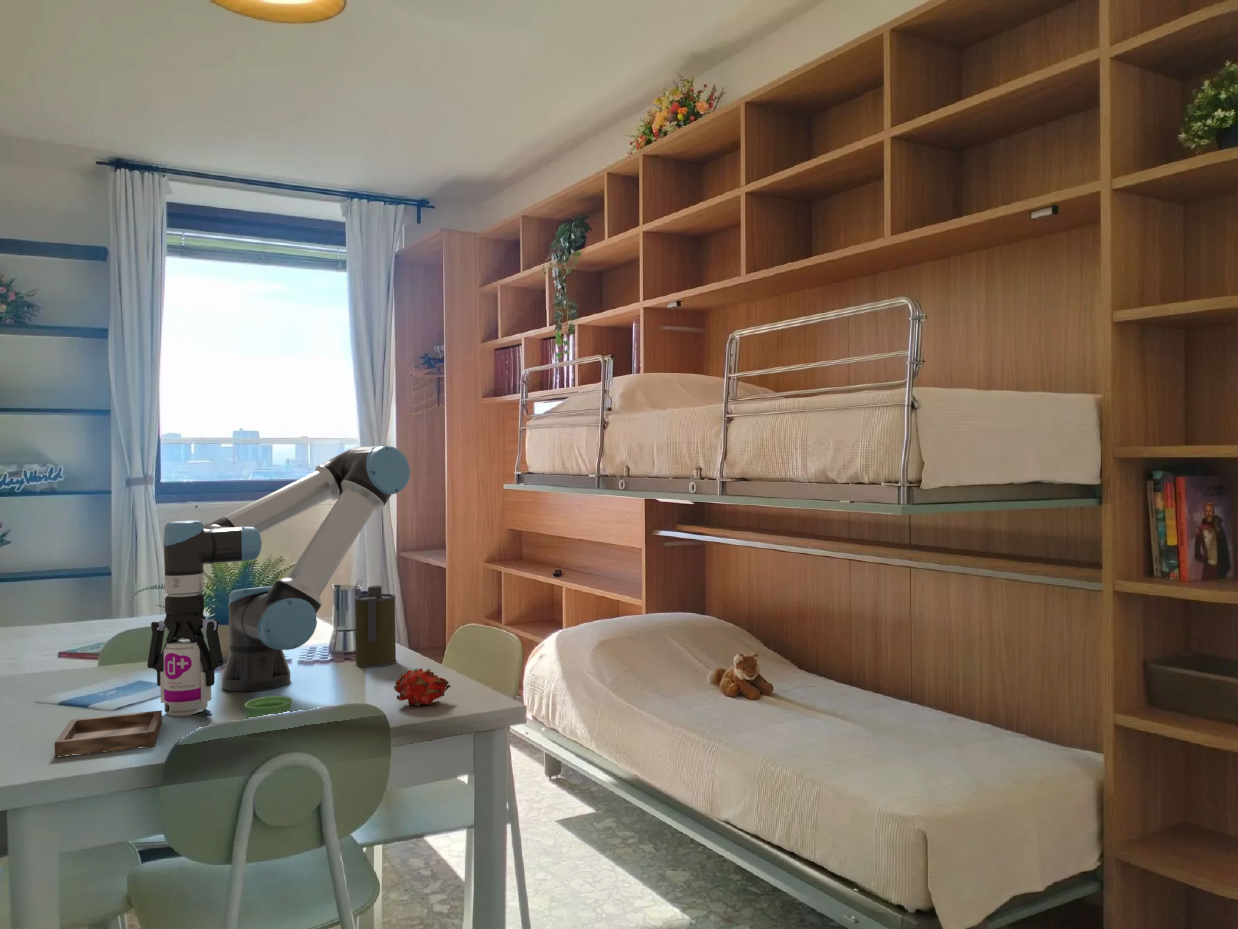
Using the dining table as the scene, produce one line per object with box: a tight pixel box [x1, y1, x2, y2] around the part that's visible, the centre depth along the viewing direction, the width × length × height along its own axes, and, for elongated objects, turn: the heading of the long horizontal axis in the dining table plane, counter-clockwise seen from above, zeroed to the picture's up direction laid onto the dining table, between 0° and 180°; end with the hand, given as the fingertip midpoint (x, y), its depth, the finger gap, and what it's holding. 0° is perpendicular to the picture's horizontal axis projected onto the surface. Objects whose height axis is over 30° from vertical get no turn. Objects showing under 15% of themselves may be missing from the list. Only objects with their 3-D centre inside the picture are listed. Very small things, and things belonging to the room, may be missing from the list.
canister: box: [354, 584, 397, 669], centre depth 239 cm, size 11×10×20 cm
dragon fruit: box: [393, 668, 451, 707], centre depth 198 cm, size 8×8×12 cm
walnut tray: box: [54, 710, 163, 758], centre depth 175 cm, size 16×16×3 cm
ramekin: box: [244, 695, 293, 719], centre depth 186 cm, size 9×9×4 cm
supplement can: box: [163, 638, 209, 718], centre depth 194 cm, size 8×8×15 cm
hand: (186, 701), depth 194 cm, fingers closed on supplement can, 8 cm apart
